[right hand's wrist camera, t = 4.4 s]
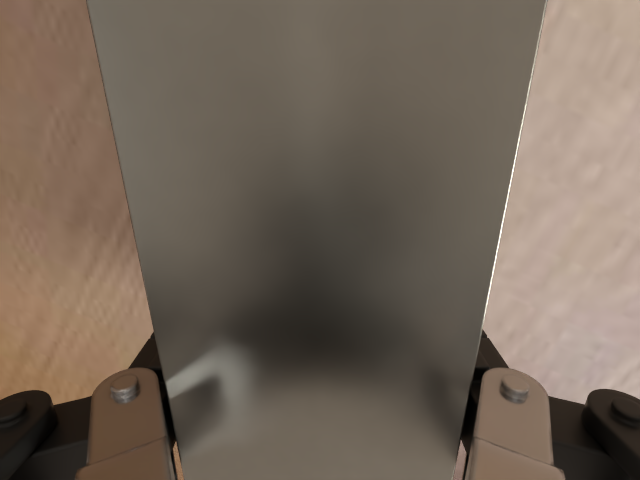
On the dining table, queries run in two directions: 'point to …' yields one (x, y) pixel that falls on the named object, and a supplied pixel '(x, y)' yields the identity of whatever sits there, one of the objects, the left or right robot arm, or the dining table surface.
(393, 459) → the box
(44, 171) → the dining table surface
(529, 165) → the dining table surface
